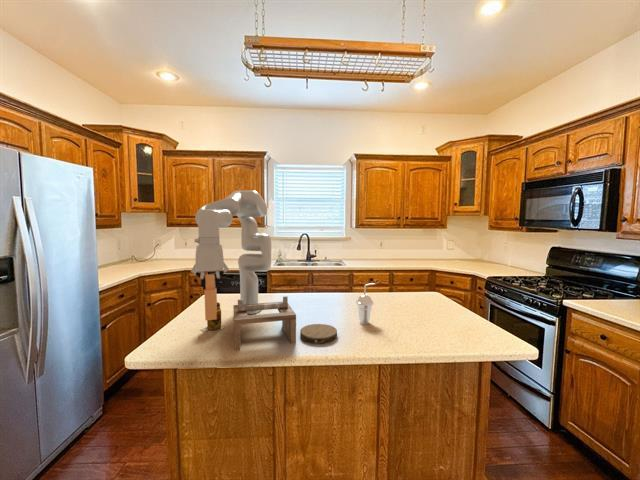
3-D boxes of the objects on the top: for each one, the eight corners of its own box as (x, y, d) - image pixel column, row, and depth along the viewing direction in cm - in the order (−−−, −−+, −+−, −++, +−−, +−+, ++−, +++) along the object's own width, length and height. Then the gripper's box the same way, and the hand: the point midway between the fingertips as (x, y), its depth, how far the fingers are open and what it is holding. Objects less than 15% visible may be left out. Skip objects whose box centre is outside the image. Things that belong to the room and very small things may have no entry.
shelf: (233, 331, 133) (233, 294, 132) (286, 326, 141) (286, 290, 139) (235, 350, 114) (234, 307, 113) (295, 343, 122) (296, 302, 120)
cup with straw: (360, 318, 153) (361, 279, 151) (376, 322, 147) (377, 282, 146) (352, 323, 146) (353, 282, 144) (369, 327, 140) (370, 285, 139)
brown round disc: (302, 329, 137) (302, 323, 137) (336, 330, 137) (336, 324, 136) (298, 344, 121) (298, 337, 121) (337, 345, 121) (337, 338, 120)
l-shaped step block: (206, 313, 121) (205, 273, 119) (217, 312, 122) (215, 272, 120) (205, 320, 113) (204, 277, 111) (216, 319, 114) (215, 277, 112)
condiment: (215, 333, 132) (215, 306, 131) (199, 330, 134) (199, 304, 133) (225, 327, 139) (225, 302, 138) (210, 325, 141) (210, 300, 140)
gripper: (184, 243, 108) (186, 292, 110) (232, 242, 113) (233, 289, 115) (186, 241, 116) (188, 287, 117) (231, 240, 121) (232, 284, 122)
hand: (210, 287), depth 116 cm, fingers closed on l-shaped step block, 4 cm apart
